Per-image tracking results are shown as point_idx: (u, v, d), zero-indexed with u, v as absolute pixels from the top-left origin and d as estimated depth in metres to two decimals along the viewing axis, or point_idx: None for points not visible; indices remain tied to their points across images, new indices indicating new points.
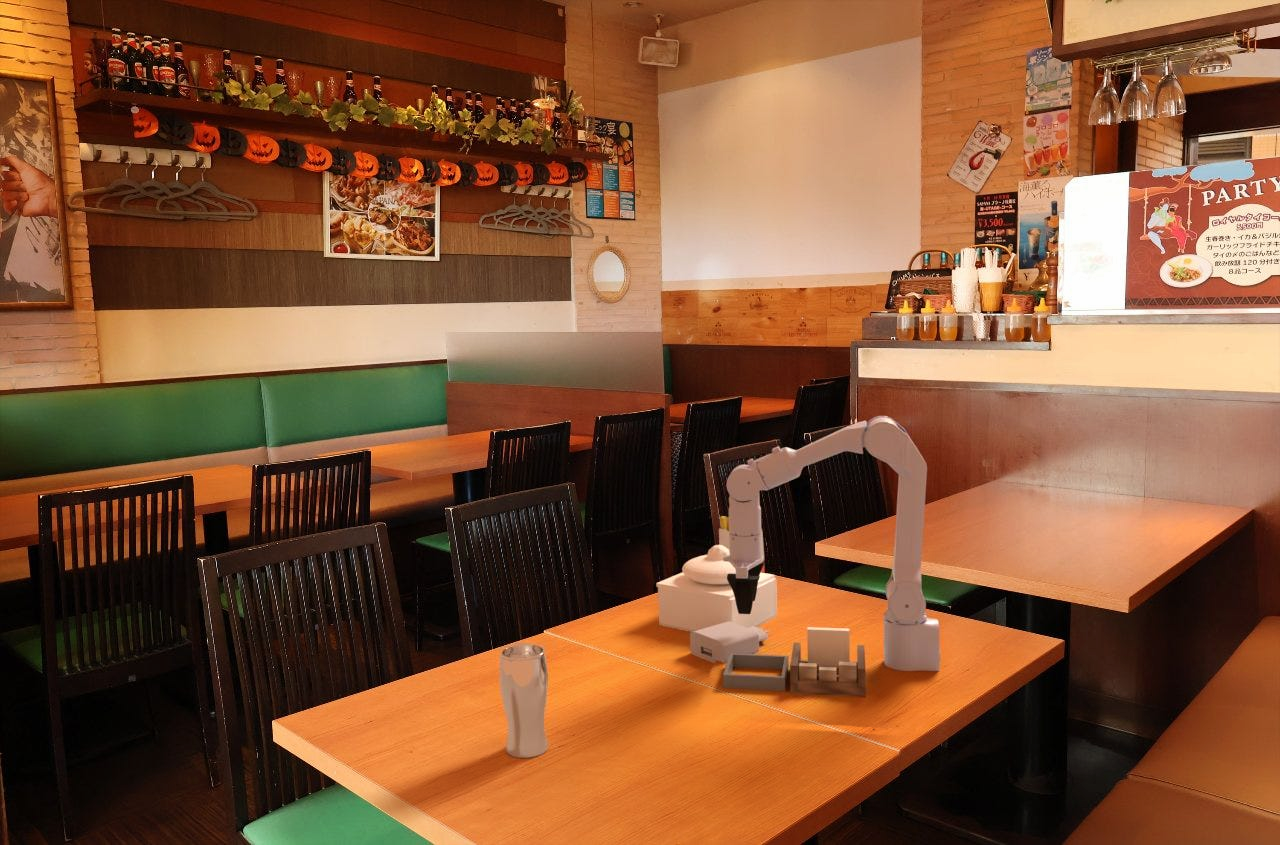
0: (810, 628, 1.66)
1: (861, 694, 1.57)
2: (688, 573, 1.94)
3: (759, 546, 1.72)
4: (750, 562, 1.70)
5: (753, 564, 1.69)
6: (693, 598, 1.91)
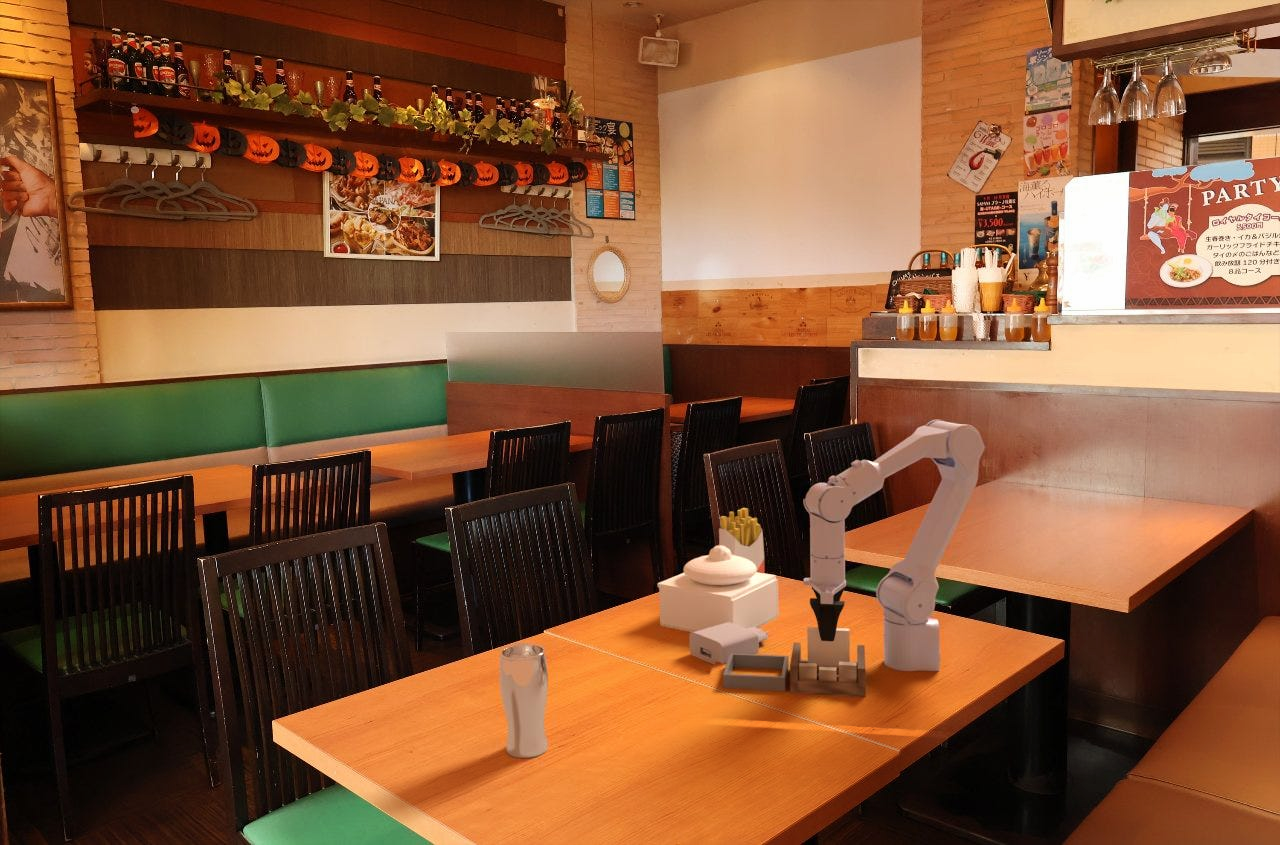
0: (810, 628, 1.66)
1: (861, 694, 1.57)
2: (689, 573, 1.94)
3: (843, 569, 1.62)
4: (834, 586, 1.61)
5: (838, 588, 1.60)
6: (694, 598, 1.91)
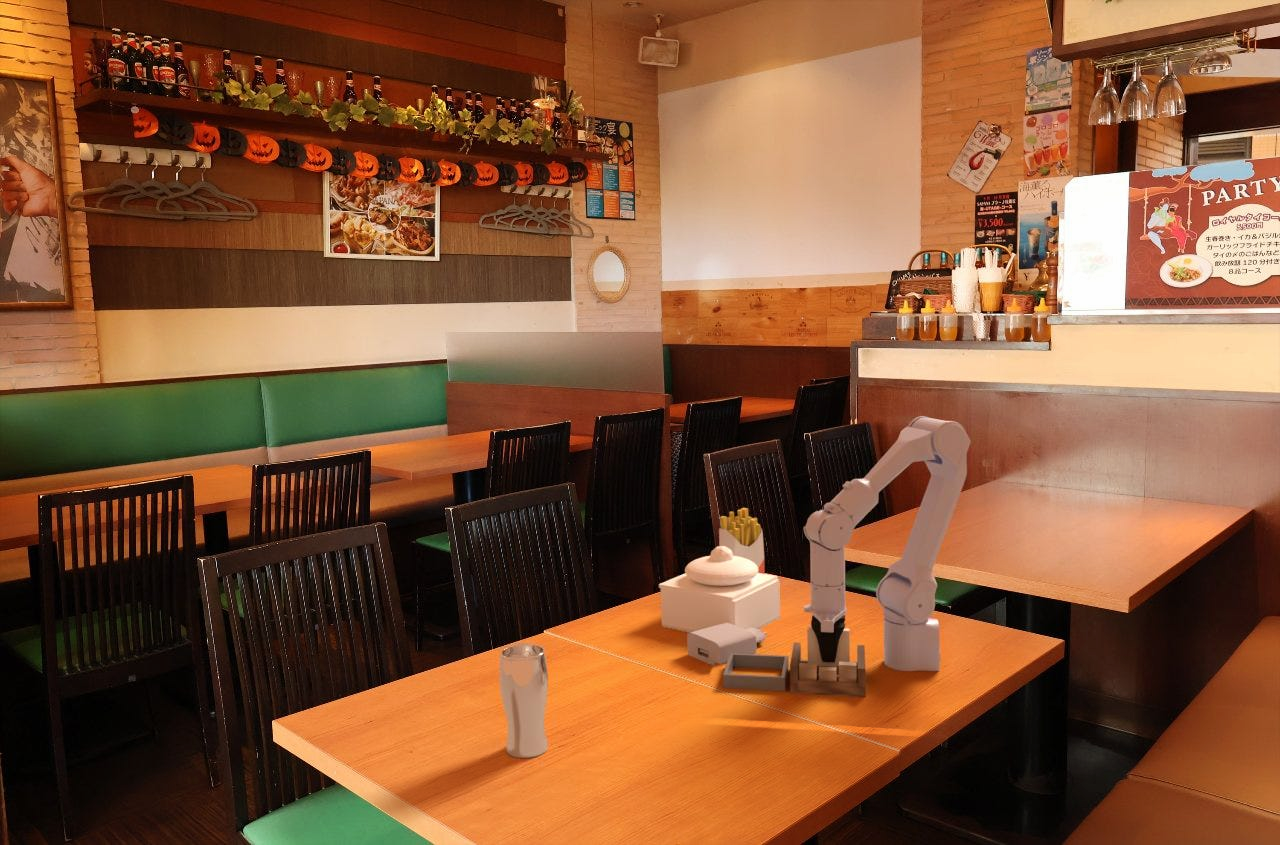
0: (810, 628, 1.66)
1: (861, 694, 1.57)
2: (690, 574, 1.93)
3: (843, 596, 1.63)
4: (834, 614, 1.62)
5: (838, 616, 1.60)
6: (696, 599, 1.90)
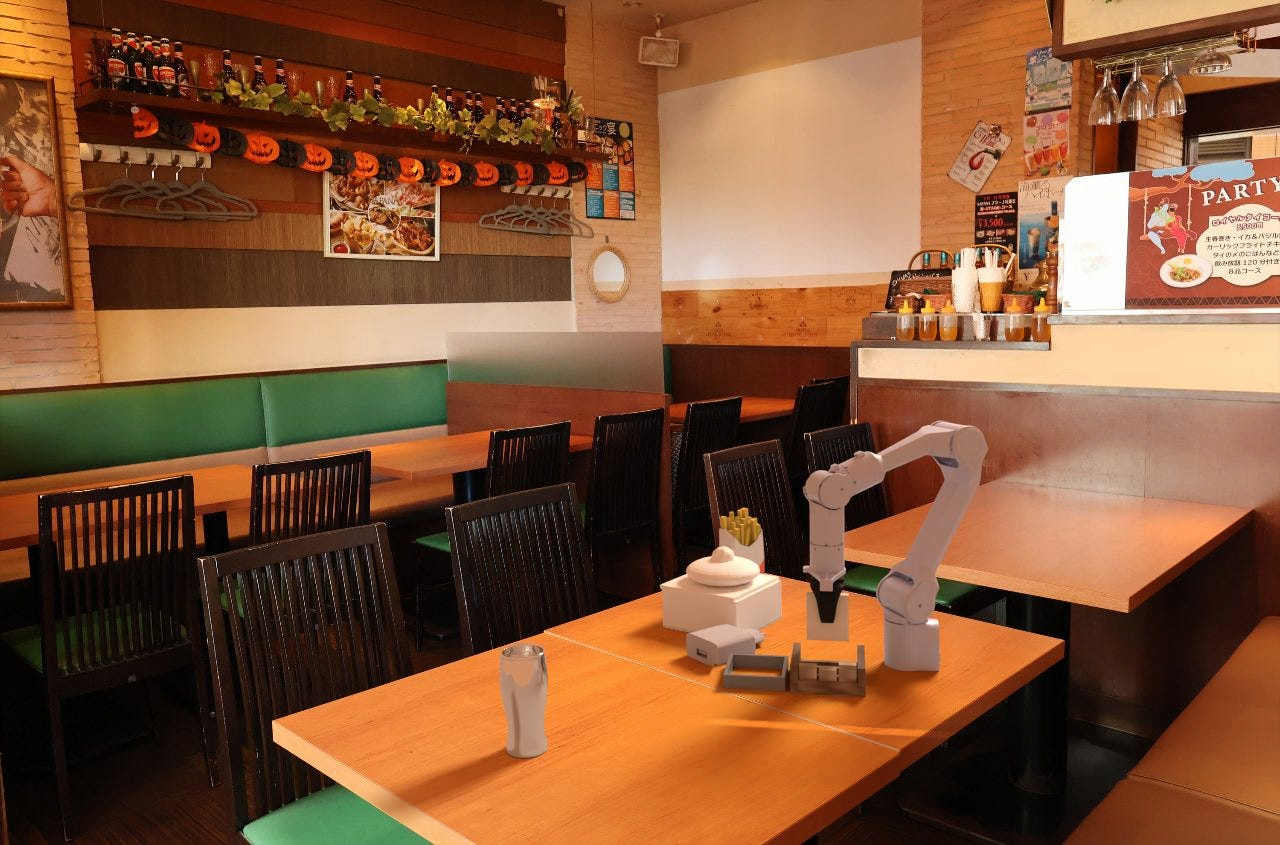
0: (809, 593, 1.65)
1: (861, 694, 1.57)
2: (692, 575, 1.93)
3: (842, 557, 1.62)
4: (833, 574, 1.61)
5: (837, 576, 1.59)
6: (697, 599, 1.90)
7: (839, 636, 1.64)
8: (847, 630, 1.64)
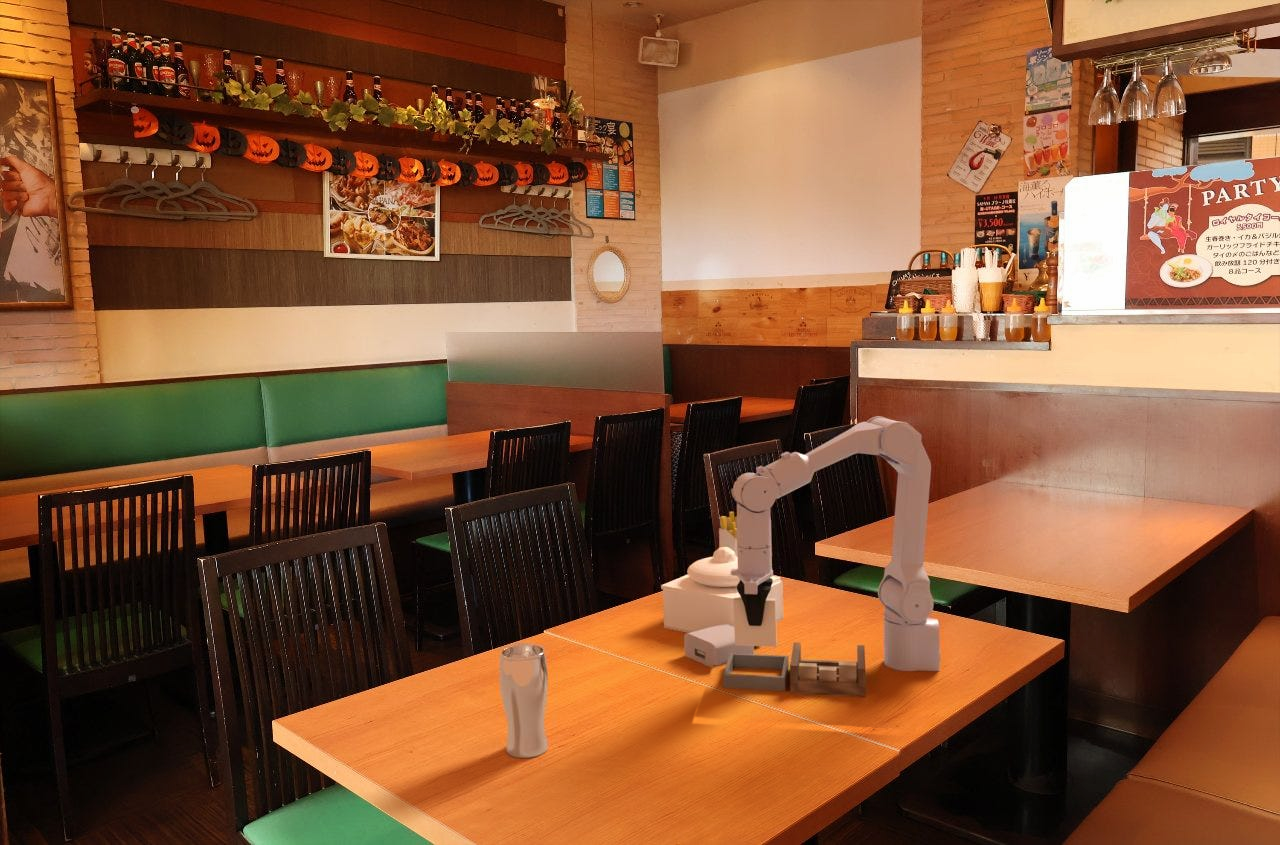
0: (736, 598, 1.65)
1: (861, 694, 1.57)
2: (693, 575, 1.92)
3: (769, 559, 1.61)
4: (759, 576, 1.60)
5: (763, 579, 1.59)
6: (698, 600, 1.89)
7: (767, 641, 1.64)
8: (774, 635, 1.63)
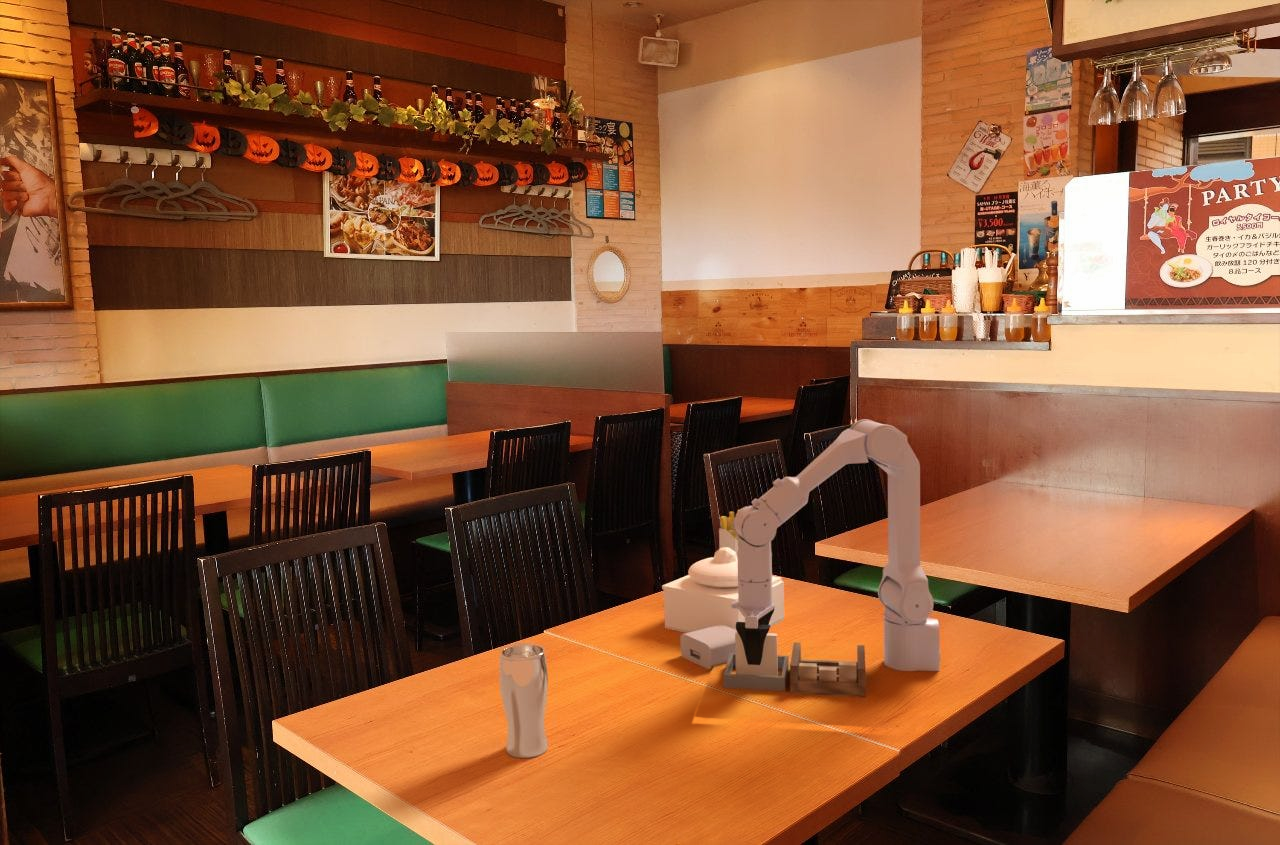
0: None
1: (861, 694, 1.57)
2: (694, 576, 1.92)
3: (769, 593, 1.62)
4: (760, 610, 1.61)
5: (763, 612, 1.60)
6: (699, 600, 1.89)
7: None
8: (775, 670, 1.64)
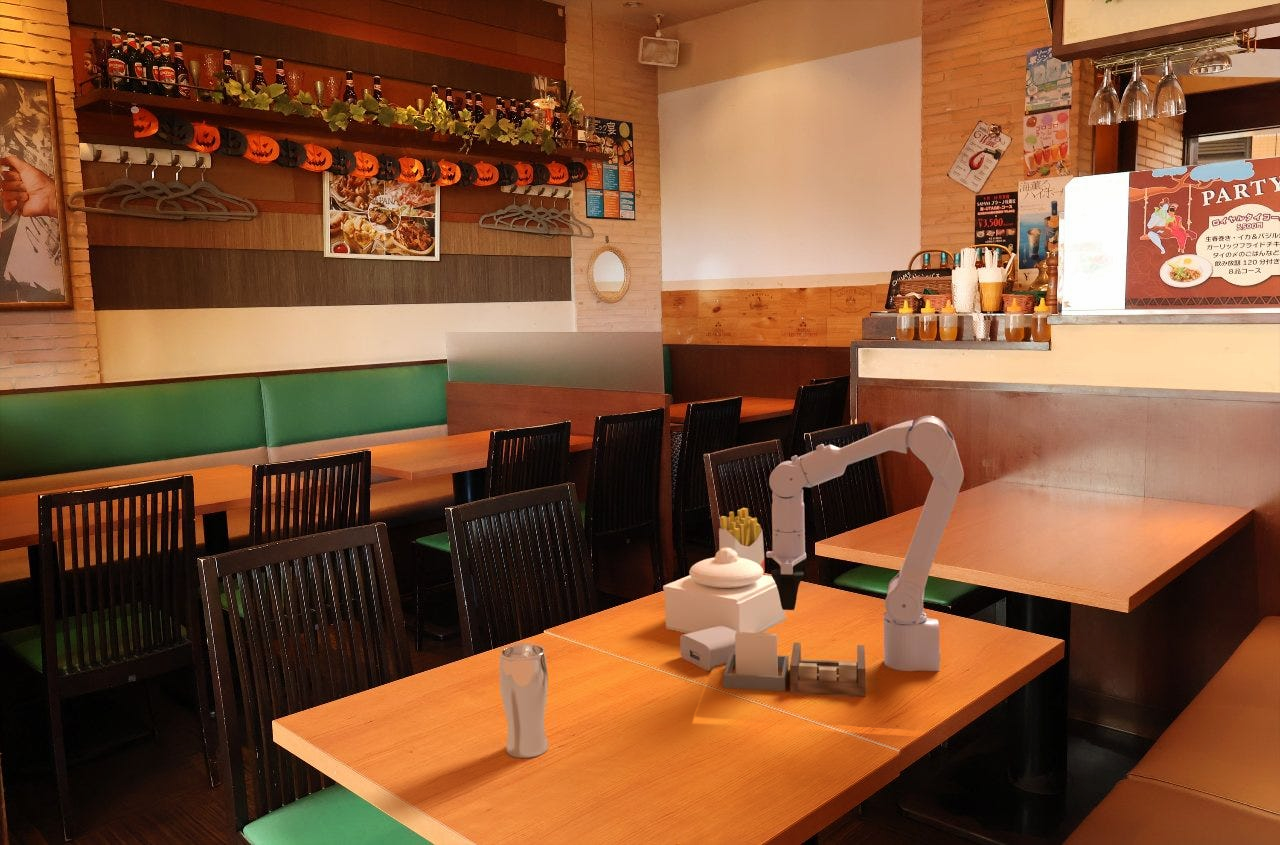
0: (738, 633, 1.65)
1: (861, 694, 1.57)
2: (695, 576, 1.92)
3: (802, 542, 1.72)
4: (794, 558, 1.71)
5: (797, 560, 1.70)
6: (700, 601, 1.89)
7: None
8: (775, 670, 1.64)
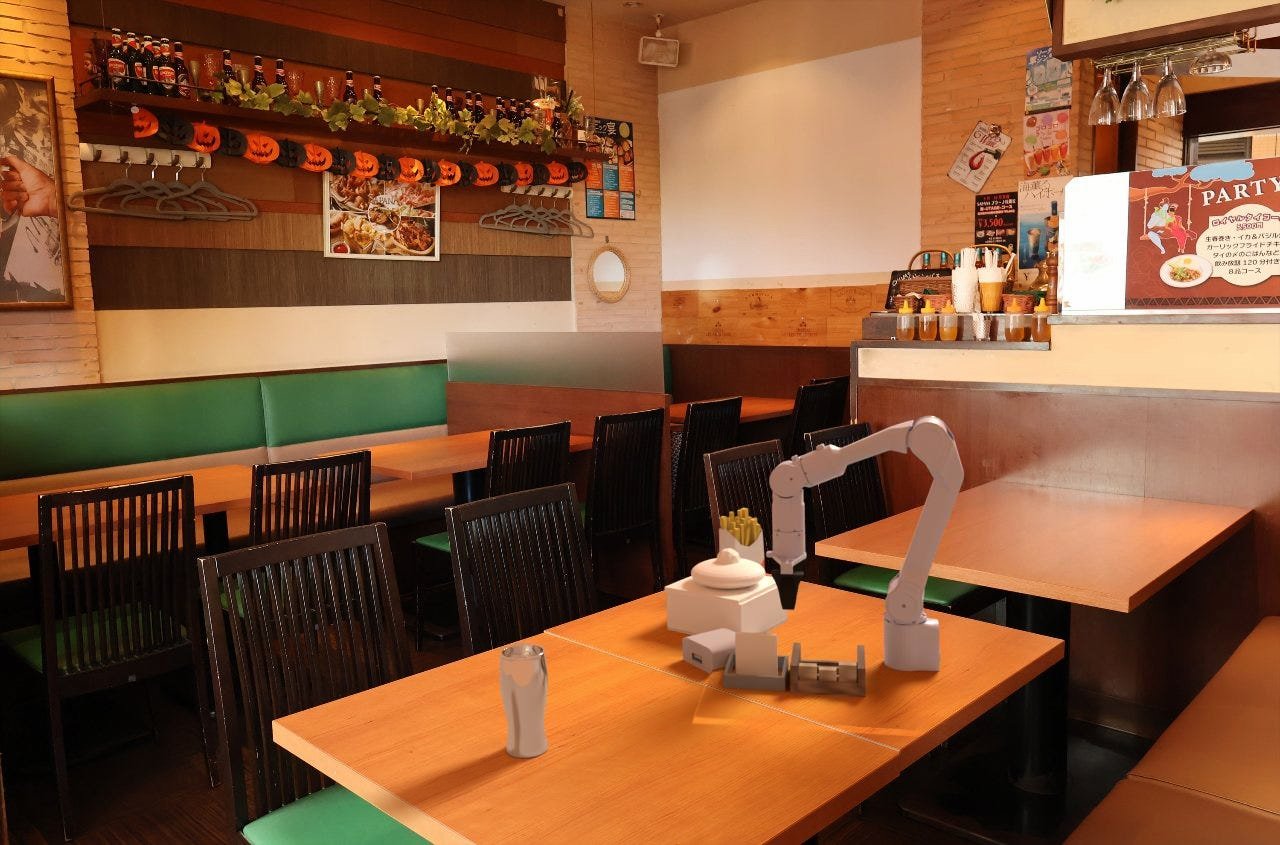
0: (738, 633, 1.65)
1: (861, 694, 1.57)
2: (697, 577, 1.91)
3: (803, 542, 1.72)
4: (794, 558, 1.71)
5: (797, 560, 1.70)
6: (702, 602, 1.88)
7: None
8: (775, 670, 1.64)
